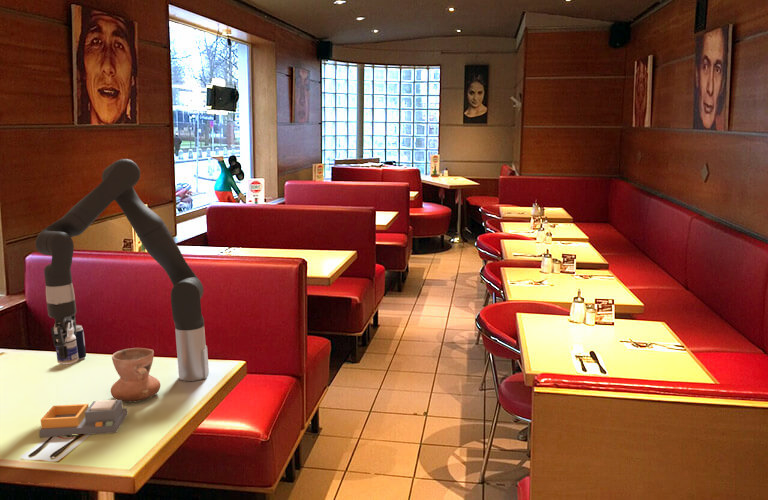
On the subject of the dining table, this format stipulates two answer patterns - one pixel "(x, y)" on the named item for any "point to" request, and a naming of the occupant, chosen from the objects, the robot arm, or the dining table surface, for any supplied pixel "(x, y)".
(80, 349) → the beverage can
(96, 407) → the button
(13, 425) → the dining table surface
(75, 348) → the pill bottle
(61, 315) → the robot arm
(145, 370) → the ceramic jug
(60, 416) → the grey and orange tray
